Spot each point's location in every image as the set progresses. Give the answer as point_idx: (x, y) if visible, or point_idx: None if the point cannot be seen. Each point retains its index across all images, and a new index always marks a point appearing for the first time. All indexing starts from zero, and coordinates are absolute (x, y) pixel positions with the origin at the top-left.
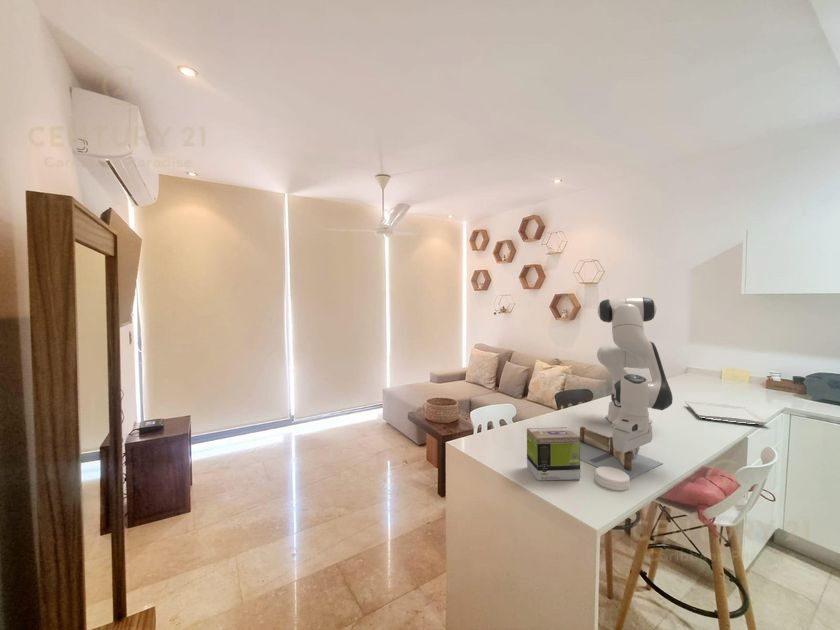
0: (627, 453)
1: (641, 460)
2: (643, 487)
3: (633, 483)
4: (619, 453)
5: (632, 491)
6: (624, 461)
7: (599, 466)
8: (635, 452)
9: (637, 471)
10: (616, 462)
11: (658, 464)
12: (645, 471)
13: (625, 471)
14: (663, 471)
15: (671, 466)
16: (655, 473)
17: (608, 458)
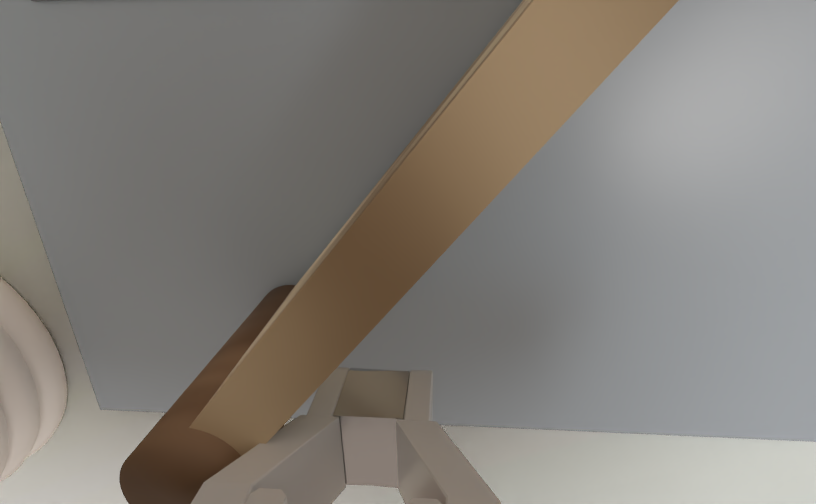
0: (137, 494)
1: (699, 291)
2: None
3: (116, 441)
4: (375, 189)
5: (8, 481)
6: (229, 339)
7: (23, 102)
8: (407, 489)
9: None
10: (340, 152)
11: (731, 430)
12: None
13: (224, 326)
14: (596, 488)
15: (804, 491)
16: (481, 467)
17: (359, 3)
